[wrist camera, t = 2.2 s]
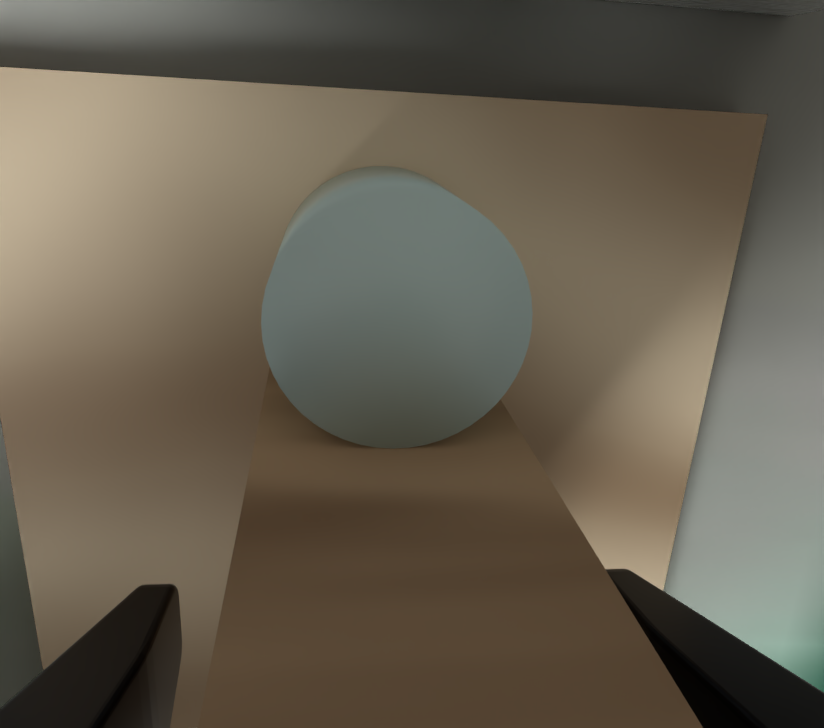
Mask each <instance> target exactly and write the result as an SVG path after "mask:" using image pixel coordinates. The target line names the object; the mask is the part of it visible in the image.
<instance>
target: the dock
mask: <svg viewBox="0 0 824 728" xmlns="http://www.w3.org/2000/svg"><path fill="white" fill-rule="evenodd" d="M607 1H618V2H630V3H642V4H654V5H665V6H677V7H689V8H700V9H712V10H724V11H735V12H747V13H759V14H770V15H782V16H794V15H799V14H804V13H809V12H814V11H819V10H824V0H607Z"/></svg>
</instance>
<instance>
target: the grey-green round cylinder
mask: <svg viewBox="0 0 824 728" xmlns="http://www.w3.org/2000/svg"><path fill="white" fill-rule="evenodd" d="M532 315H533V312H532V298H531V293H530V288H529V283H528V279H527V276H526V274H525V271H524V268H523V265H522V263H521V261H520V259H519V257H518V255H517V254H516V252H515V250H514V248H513V247H512V245H511V244H510V243H509V241H508V240H507V238H506V237H505V236H504V234H503V233H502V232H501V231H500V230H499V229H498V228H497V227H496V226H495V225H494V224H493V223H492V222H491V221H490V220H489V219H487V218H486V217H485V216H484V215H482V214H481V213H480V212H479V211H477V210H476V209H474V208H473V207H471V206H470V205H469V204H467V203H466V202H464V201H463V200H461V199H460V198H458V197H457V196H455V195H454V194H452V193H451V192H450V191H448V190H447V189H445V188H444V187H442V186H441V185H439V184H438V183H436V182H434V181H433V180H431V179H429V178H428V177H426V176H424V175H421V174H419V173H416V172H414V171H411V170H407V169H403V168H398V167H390V166H370V167H364V168H358V169H354V170H351V171H348V172H345V173H342V174H340V175H338V176H336V177H333V178H332V179H330V180H328V181H327V182H325V183H324V184H322V185H320V186H319V187H318V188H317V189H316V190H314V191H313V192H312V193H311V194H310V195H309V196H308V197H307V198H306V199H305V200H304V201H303V202H302V203H301V205H300V206H299V208H298V209H297V210H296V212H295V213H294V215H293V216H292V218H291V220H290V222H289V224H288V226H287V229H286V231H285V234H284V237H283V240H282V243H281V245H280V248H279V251H278V254H277V257H276V260H275V262H274V265H273V268H272V271H271V274H270V277H269V279H268V282H267V285H266V288H265V293H264V298H263V303H262V314H261V329H262V341H263V345H264V350H265V354H266V358H267V361H268V363H269V366H270V369H271V371H272V374H273V376H274V377H275V379H276V381H277V383H278V385H279V387H280V388H281V390H282V391H283V393H284V394H285V395H286V397H287V398H288V399H289V401H290V402H291V403H292V404H293V405H294V406H295V407H296V408H297V409H298V410H299V411H300V412H301V414H303V415H304V416H305V417H306V418H308V419H309V420H310V421H311V422H313V423H314V424H315V425H317V426H318V427H320V428H322V429H323V430H325V431H327V432H328V433H330V434H332V435H335V436H337V437H339V438H341V439H344V440H347V441H350V442H353V443H356V444H359V445H365V446H370V447H375V448H390V449H395V448H410V447H416V446H422V445H427V444H430V443H433V442H437V441H440V440H443V439H445V438H448V437H450V436H452V435H455V434H457V433H459V432H460V431H462V430H464V429H466V428H467V427H469V426H471V425H472V424H474V423H475V422H476V421H478V420H479V419H480V418H482V417H483V416H484V415H485V414H486V413H487V412H489V411H490V410H491V409H492V408H493V407H494V406H495V405H496V404H497V403H498V402H499V400H500V399H501V398H502V397H503V396H504V394H505V393H506V392H507V391H508V389H509V387H510V386H511V384H512V383H513V381H514V380H515V378H516V376H517V374H518V372H519V370H520V368H521V366H522V364H523V361H524V358H525V355H526V352H527V349H528V346H529V341H530V336H531V331H532Z"/></svg>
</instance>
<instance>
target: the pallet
mask: <svg viewBox="0 0 824 728" xmlns="http://www.w3.org/2000/svg"><path fill="white" fill-rule="evenodd" d="M767 116H768V114H752V113H736V112H720V111H704V110H687V109H671V108H655V107H639V106H623V105H607V104H591V103H574V102H558V101H542V100H526V99H510V98H494V97H478V96H462V95H445V94H429V93H413V92H397V91H381V90H365V89H349V88H332V87H316V86H300V85H284V84H268V83H252V82H236V81H220V80H203V79H187V78H171V77H155V76H139V75H123V74H107V73H90V72H74V71H58V70H42V69H26V68H10V67H0V419H1V424H2V430H3V436H4V442H5V448H6V454H7V460H8V466H9V472H10V478H11V484H12V490H13V496H14V501H15V507H16V513H17V519H18V525H19V531H20V537H21V543H22V549H23V555H24V561H25V567H26V573H27V578H28V584H29V590H30V596H31V602H32V608H33V614H34V620H35V626H36V632H37V638H38V644H39V649H40V655H41V661H42V667H43V670H44V669H46V668H47V667H48V666H49V665H50V664H51V663H52V662H53V661H55V660H56V659H57V658H58V657H59V656H60V655H61V654H63V653H64V652H65V651H66V650H67V649H68V648H69V647H70V646H72V645H73V644H74V643H75V642H76V641H77V640H78V639H79V638H81V637H82V636H83V635H84V634H85V633H86V632H87V631H88V630H90V629H91V628H92V627H93V626H94V625H95V624H96V623H98V622H99V621H100V620H101V619H102V618H103V617H104V616H105V615H107V614H108V613H109V612H110V611H111V610H112V609H113V608H114V607H116V606H117V605H118V604H119V603H120V602H121V601H122V600H123V599H125V598H126V597H127V596H128V595H129V594H130V593H131V592H133V591H134V590H135V589H136V588H137V587H139V586H141V585H146V584H174V585H175V586H176V587H177V589H178V593H179V604H180V618H181V631H182V655H181V663H180V669H179V675H178V681H177V688H176V694H175V700H174V706H173V712H172V718H171V724H170V728H703V727H702V725H701V724H700V722H699V720H698V719H697V717H696V715H695V714H694V712H693V711H692V709H691V707H690V706H689V704H688V702H687V701H686V699H685V698H684V696H683V694H682V693H681V691H680V690H679V688H678V686H677V685H676V683H675V681H674V680H673V678H672V677H671V675H670V673H669V672H668V670H667V668H666V667H665V665H664V664H663V662H662V660H661V659H660V657H659V655H658V654H657V652H656V651H655V649H654V647H653V646H652V644H651V642H650V641H649V639H648V638H647V636H646V634H645V633H644V631H643V630H642V628H641V626H640V625H639V623H638V621H637V620H636V618H635V617H634V615H633V613H632V612H631V610H630V608H629V607H628V605H627V604H626V602H625V600H624V599H623V597H622V595H621V594H620V592H619V591H618V589H617V587H616V586H615V584H614V582H613V581H612V579H611V578H610V576H609V574H608V573H607V571H606V570H605V569H628V570H630V571H632V572H634V573H635V574H637V575H638V576H640V577H642V578H643V579H645V580H646V581H648V582H650V583H651V584H653V585H654V586H656V587H657V588H659V589H661V590H662V591H663V589H664V584H665V580H666V575H667V571H668V566H669V562H670V557H671V552H672V548H673V543H674V539H675V534H676V530H677V525H678V521H679V516H680V511H681V507H682V502H683V498H684V493H685V489H686V484H687V480H688V475H689V471H690V466H691V461H692V457H693V452H694V448H695V443H696V439H697V434H698V430H699V425H700V420H701V416H702V411H703V407H704V402H705V398H706V393H707V389H708V384H709V380H710V375H711V370H712V366H713V361H714V357H715V352H716V348H717V343H718V339H719V334H720V329H721V325H722V320H723V316H724V311H725V307H726V302H727V298H728V293H729V289H730V284H731V279H732V275H733V270H734V266H735V261H736V257H737V252H738V248H739V243H740V238H741V234H742V229H743V225H744V220H745V216H746V211H747V207H748V202H749V198H750V193H751V188H752V184H753V179H754V175H755V170H756V166H757V161H758V157H759V152H760V147H761V143H762V138H763V134H764V129H765V125H766V120H767ZM370 166H390V167H398V168H403V169H407V170H411V171H414V172H416V173H419V174H421V175H424V176H426V177H428V178H429V179H431V180H433V181H434V182H436V183H438V184H439V185H441V186H442V187H444V188H445V189H447V190H448V191H450V192H451V193H452V194H454V195H455V196H457V197H458V198H460V199H461V200H463V201H464V202H466V203H467V204H469V205H470V206H471V207H473V208H474V209H476V210H477V211H479V212H480V213H481V214H482V215H484V216H485V217H486V218H487V219H489V220H490V221H491V222H492V223H493V224H494V225H495V226H496V227H497V228H498V229H499V230H500V231H501V232H502V233H503V234H504V236H505V237H506V238H507V240H508V241H509V243H510V244H511V245H512V247H513V248H514V250H515V252H516V254H517V255H518V257H519V259H520V261H521V263H522V265H523V268H524V271H525V274H526V276H527V279H528V283H529V288H530V293H531V298H532V312H533V315H532V331H531V336H530V341H529V346H528V349H527V352H526V355H525V358H524V361H523V364H522V366H521V368H520V370H519V372H518V374H517V376H516V378H515V380H514V381H513V383H512V384H511V386H510V387H509V389H508V391H507V392H506V393H505V394H504V396H503V397H502V398H501V399H500V400H499V402H498V403H497V404H496V405H495V406H494V407H493V408H492V409H491V410H490V411H489V412H487V413H486V414H485V415H484V416H483V417H482V418H480V419H479V420H478V421H476V422H475V423H474V424H472V425H471V426H469V427H467V428H466V429H464V430H462V431H460V432H459V433H457V434H455V435H452V436H450V437H448V438H445V439H443V440H440V441H437V442H433V443H430V444H427V445H422V446H416V447H410V448H395V449H390V448H375V447H370V446H365V445H359V444H356V443H353V442H350V441H347V440H344V439H341V438H339V437H337V436H335V435H332V434H330V433H328V432H327V431H325V430H323V429H322V428H320V427H318V426H317V425H315V424H314V423H313V422H311V421H310V420H309V419H308V418H306V417H305V416H304V415H303V414H301V412H300V411H299V410H298V409H297V408H296V407H295V406H294V405H293V404H292V403H291V402H290V401H289V399H288V398H287V397H286V395H285V394H284V393H283V391H282V390H281V388H280V387H279V385H278V383H277V381H276V379H275V377H274V376H273V374H272V371H271V369H270V366H269V363H268V361H267V358H266V354H265V350H264V345H263V341H262V329H261V314H262V303H263V298H264V293H265V288H266V285H267V282H268V279H269V277H270V274H271V271H272V268H273V265H274V262H275V260H276V257H277V254H278V251H279V248H280V245H281V243H282V240H283V237H284V234H285V231H286V229H287V226H288V224H289V222H290V220H291V218H292V216H293V215H294V213H295V212H296V210H297V209H298V208H299V206H300V205H301V203H302V202H303V201H304V200H305V199H306V198H307V197H308V196H309V195H310V194H311V193H312V192H313V191H314V190H316V189H317V188H318V187H319V186H320V185H322V184H324V183H325V182H327V181H328V180H330V179H332V178H333V177H336V176H338V175H340V174H342V173H345V172H348V171H351V170H354V169H358V168H364V167H370Z"/></svg>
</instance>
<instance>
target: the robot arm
mask: <svg viewBox="0 0 824 728" xmlns="http://www.w3.org/2000/svg"><path fill="white" fill-rule="evenodd" d="M605 570H606V571H607V573H608V574H609V576H610V578H611V579H612V581H613V582H614V584H615V586H616V587H617V589H618V591H619V592H620V594H621V595H622V597H623V599H624V600H625V602H626V604H627V605H628V607H629V608H630V610H631V612H632V613H633V615H634V617H635V618H636V620H637V621H638V623H639V625H640V626H641V628H642V630H643V631H644V633H645V634H646V636H647V638H648V639H649V641H650V642H651V644H652V646H653V647H654V649H655V651H656V652H657V654H658V655H659V657H660V659H661V660H662V662H663V664H664V665H665V667H666V668H667V670H668V672H669V673H670V675H671V677H672V678H673V680H674V681H675V683H676V685H677V686H678V688H679V690H680V691H681V693H682V694H683V696H684V698H685V699H686V701H687V702H688V704H689V706H690V707H691V709H692V711H693V712H694V714H695V715H696V717H697V719H698V720H699V722H700V724H701V725H702V727H703V728H824V692H822V691H820V690H819V689H817V688H816V687H814V686H812V685H811V684H809V683H808V682H806V681H805V680H803V679H801V678H800V677H798V676H797V675H795V674H794V673H792V672H790V671H789V670H787V669H786V668H784V667H782V666H781V665H779V664H778V663H776V662H775V661H773V660H771V659H770V658H768V657H767V656H765V655H763V654H762V653H760V652H759V651H757V650H756V649H754V648H752V647H751V646H749V645H748V644H746V643H744V642H743V641H741V640H740V639H738V638H737V637H735V636H733V635H732V634H730V633H729V632H727V631H725V630H724V629H722V628H721V627H719V626H718V625H716V624H714V623H713V622H711V621H710V620H708V619H707V618H705V617H703V616H702V615H700V614H699V613H697V612H695V611H694V610H692V609H691V608H689V607H688V606H686V605H684V604H683V603H681V602H680V601H678V600H676V599H675V598H673V597H672V596H670V595H669V594H667V593H665V592H664V591H662V590H661V589H659V588H657V587H656V586H654V585H653V584H651V583H650V582H648V581H646V580H645V579H643V578H642V577H640V576H638V575H637V574H635V573H634V572H632V571H630V570H628V569H605ZM181 655H182V631H181V618H180V604H179V593H178V589H177V587H176V586H175V585H174V584H146V585H141V586H139V587H137V588H136V589H135V590H134V591H133V592H131V593H130V594H129V595H128V596H127V597H126V598H125V599H123V600H122V601H121V602H120V603H119V604H118V605H117V606H116V607H114V608H113V609H112V610H111V611H110V612H109V613H108V614H107V615H105V616H104V617H103V618H102V619H101V620H100V621H99V622H98V623H96V624H95V625H94V626H93V627H92V628H91V629H90V630H88V631H87V632H86V633H85V634H84V635H83V636H82V637H81V638H79V639H78V640H77V641H76V642H75V643H74V644H73V645H72V646H70V647H69V648H68V649H67V650H66V651H65V652H64V653H63V654H61V655H60V656H59V657H58V658H57V659H56V660H55V661H53V662H52V663H51V664H50V665H49V666H48V667H47V668H46V669H44V670H43V671H42V672H41V673H40V674H39V675H38V676H37V677H35V678H34V679H33V680H32V681H31V682H30V683H29V684H28V685H26V686H25V687H24V688H23V689H22V690H21V691H20V692H18V693H17V694H16V695H15V696H14V697H13V698H12V699H11V700H9V701H8V702H7V703H6V704H5V705H4V706H3V707H2V708H0V728H170V724H171V718H172V712H173V706H174V700H175V694H176V688H177V681H178V675H179V669H180V663H181Z"/></svg>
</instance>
